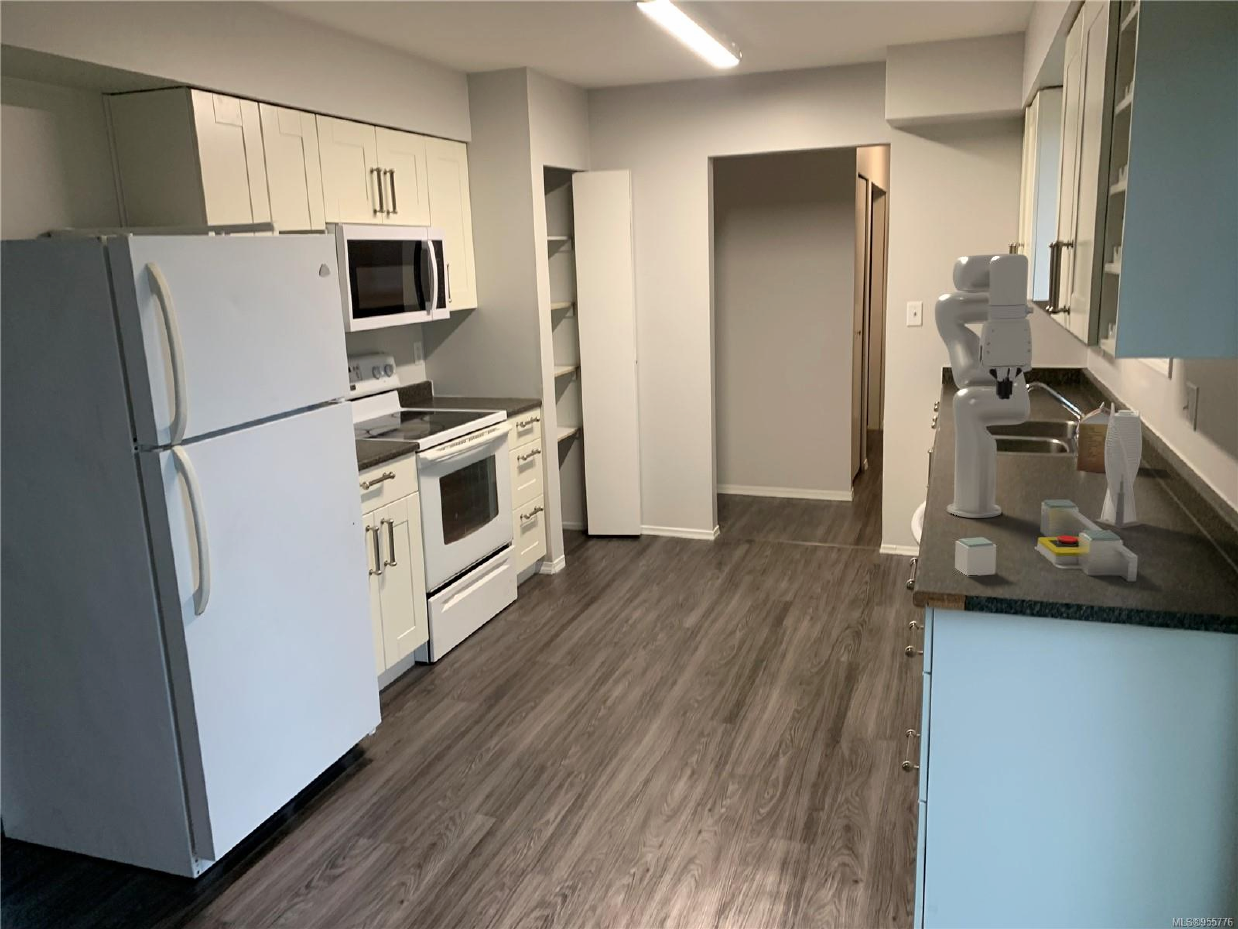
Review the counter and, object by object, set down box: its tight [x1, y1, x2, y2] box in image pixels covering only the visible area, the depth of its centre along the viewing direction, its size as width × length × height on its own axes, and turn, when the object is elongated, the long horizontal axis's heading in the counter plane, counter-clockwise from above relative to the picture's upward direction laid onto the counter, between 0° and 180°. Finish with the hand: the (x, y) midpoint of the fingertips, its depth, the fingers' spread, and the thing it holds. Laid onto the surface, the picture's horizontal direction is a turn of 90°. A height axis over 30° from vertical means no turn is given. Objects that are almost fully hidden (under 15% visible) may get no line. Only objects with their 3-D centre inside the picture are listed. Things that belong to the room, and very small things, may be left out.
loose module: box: [954, 536, 997, 577], centre depth 183 cm, size 5×6×6 cm
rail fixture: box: [1039, 499, 1139, 582], centre depth 192 cm, size 38×8×8 cm, turn 171°
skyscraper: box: [1093, 402, 1143, 530], centre depth 210 cm, size 8×8×28 cm
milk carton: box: [1076, 401, 1111, 473], centre depth 265 cm, size 10×11×19 cm
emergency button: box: [1034, 536, 1082, 570], centre depth 189 cm, size 9×4×15 cm
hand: (1003, 398), depth 197 cm, fingers closed
